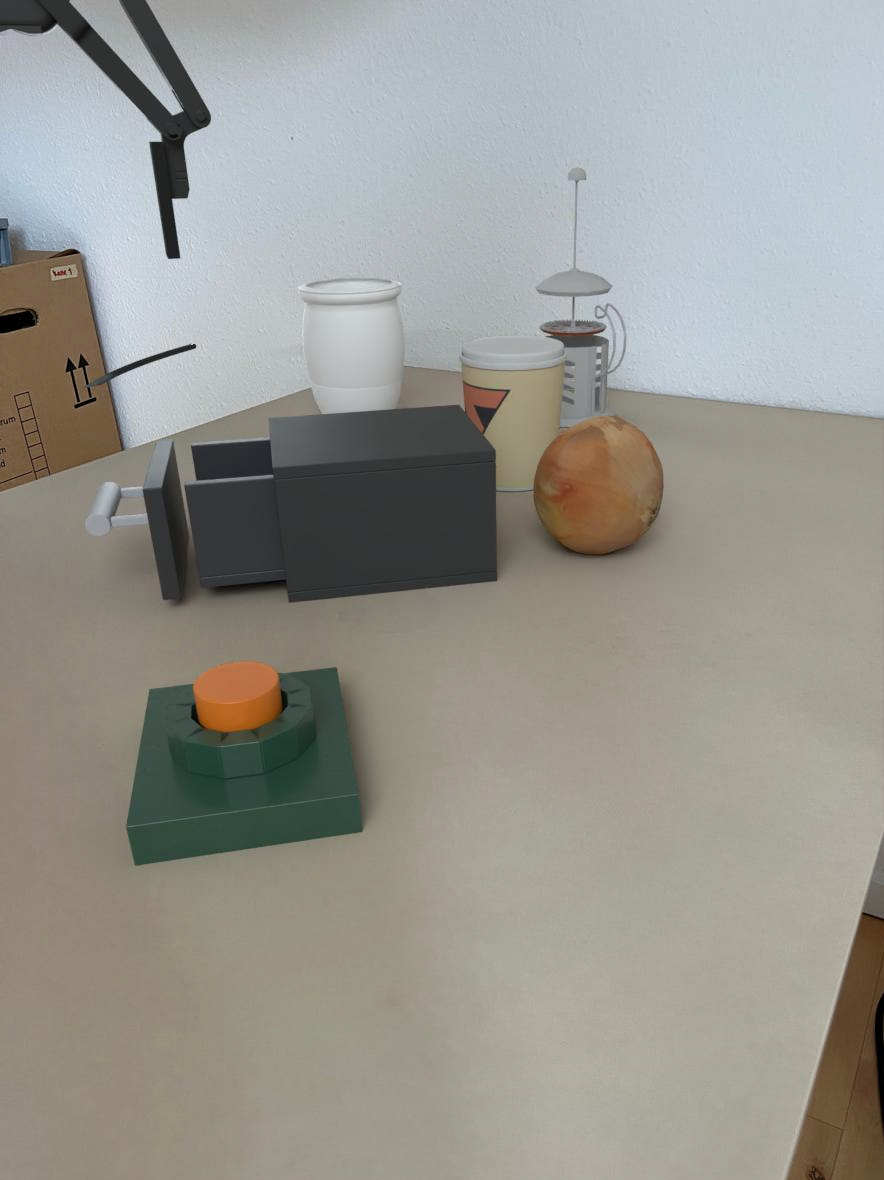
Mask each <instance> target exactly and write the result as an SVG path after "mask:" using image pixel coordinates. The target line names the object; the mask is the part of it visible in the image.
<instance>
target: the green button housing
mask: <svg viewBox="0 0 884 1180" xmlns="http://www.w3.org/2000/svg"><path fill="white" fill-rule="evenodd" d="M277 673H278V675H279V682H280V690H281V697H282V705H283V707H282V711H281V714H280V715H279V716H278V717H277V718H276V719H275V720H273V721H270V722H268V723H266V724H263V725H261V726H259V727H256V728H254V729H248V730H240V731H232V732H222V731H216V730H210V729H206V728H204V727H203V726H202V725H201V724H200V722H199V719H198V714H197V709H196V703H195V698H194V692H193V685H194V683H190V684H181V685H172V686H163V687H156V688H155V687H153V688H149V690H148V695H147V701H146V707H145V713H144V717H143V725H142V731H141V737H140V742H139V749H138V754H137V760H136V766H135V771H134V777H133V784H132V790H131V795H130V800H129V801H130V802H129V807H128V813H127V819H126V825H125V829H126V833H127V838H128V842H129V846H130V850H131V854H132V859H133V863H134V864H133V865H134V866H136V867H137V866H143V865H149V864H156V863H157V864H158V863H163V862H171V861H177V860H183V859H190V858H198V857H204V856H212V855H217V854H225V853H231V852H239V851H244V850H251V849H257V848H258V849H259V848H265V847H271V846H277V845H278V846H279V845H285V844H292V843H298V842H305V841H313V840H317V839H318V840H319V839H325V838H332V837H337V836H345V835H352V834H359V833H363V823H362V810H361V800H360V793H359V792H360V791H359V786H358V781H357V775H356V769H355V764H354V757H353V752H352V747H351V741H350V735H349V729H348V724H347V718H346V712H345V707H344V700H343V695H342V690H341V684H340V679H339V672H338V667H337V666H334V667H326V668H318V669H317V668H316V669H309V670H308V669H307V670H301V671H300V670H299V671H291V672H278V671H277Z"/></svg>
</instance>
